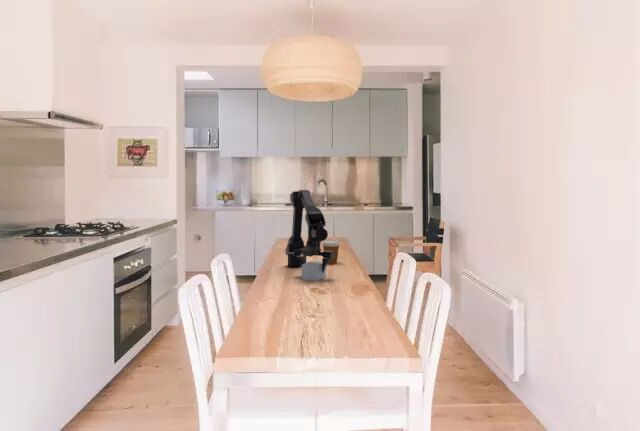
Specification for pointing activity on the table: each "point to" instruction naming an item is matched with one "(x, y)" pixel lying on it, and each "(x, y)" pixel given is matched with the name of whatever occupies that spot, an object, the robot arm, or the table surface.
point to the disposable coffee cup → (331, 247)
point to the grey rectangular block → (313, 271)
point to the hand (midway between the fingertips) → (313, 271)
